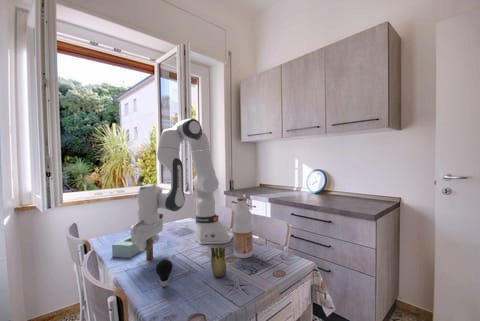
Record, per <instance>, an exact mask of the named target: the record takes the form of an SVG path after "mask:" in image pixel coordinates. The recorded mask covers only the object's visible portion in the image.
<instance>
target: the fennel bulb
mask: <svg viewBox="0 0 480 321" xmlns="http://www.w3.org/2000/svg"><path fill="white" fill-rule="evenodd" d="M210 253H211V258H210V261H211V262H210V263H211V264H210V265H211V271H212V273H213V275H214V277H215V278H223V277H224V276H225V275H227V274H226V273H227V263H226V262H227V261H226V256H225V255H226V246H222V245H218V246H211V247H210Z"/></svg>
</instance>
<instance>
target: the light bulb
mask: <svg viewBox="0 0 480 321" xmlns="http://www.w3.org/2000/svg"><path fill="white" fill-rule="evenodd" d="M172 271H173V264H172V261H170V260H169V259H165V258H164V259H161V260H159V262H158V263H157V264H156V267H155V272H156V274H157V275H158V276H159V279H160V286H161V287H164V288H166V287H167V286H169V279H170V278H169V277H170V274H171V273H172Z"/></svg>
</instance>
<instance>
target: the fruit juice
mask: <svg viewBox="0 0 480 321" xmlns="http://www.w3.org/2000/svg"><path fill="white" fill-rule="evenodd" d="M236 201H237V204H236V208H235V210H234V212H233V218H232V219H233V226H232V228H233V229H232V230H233V232H232V233H233V234H232V239H233V255H234V257H236V258H237V259H247V258H250V257H252V256H253V253H254V249H253V245H254V244H253V239H254V238H253V224H252V217H253V216H252V212H251V211H250V208H249V205H248V197H246V196H245V197H244V196H240V197H237V199H236Z"/></svg>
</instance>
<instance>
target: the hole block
mask: <svg viewBox="0 0 480 321" xmlns="http://www.w3.org/2000/svg"><path fill="white" fill-rule="evenodd" d="M111 246H112V247H111V251H112V252H111V253H112V254H111V255H112V256H114V258H125V259H131V258H132V257H134V256H135V255H137V254H139V253H140V252H141V251H139V246H138V244H132V242H131V234H130V235H129V236H127V237H125V238H122V239H121V240H119V241H118V240H117V241H116V242H115V243H112V244H111ZM143 246H145V249H146V240H145V241H144V242H143Z"/></svg>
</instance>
